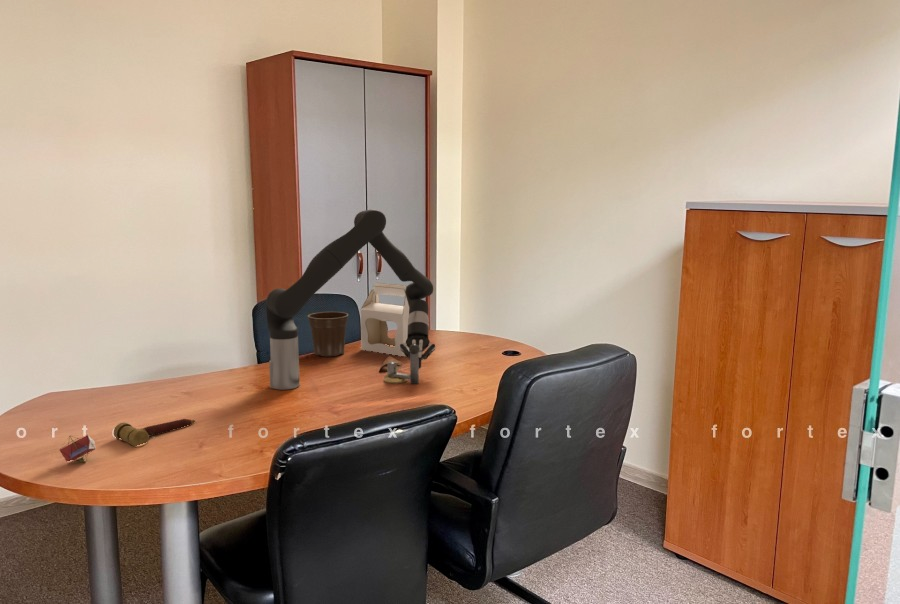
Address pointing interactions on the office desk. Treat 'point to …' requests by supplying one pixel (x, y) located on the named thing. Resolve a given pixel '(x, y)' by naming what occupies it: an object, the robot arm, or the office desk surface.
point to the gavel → (146, 431)
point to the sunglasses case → (390, 359)
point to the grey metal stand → (400, 377)
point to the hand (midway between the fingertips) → (416, 368)
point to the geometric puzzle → (78, 448)
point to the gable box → (384, 320)
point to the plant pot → (328, 332)
